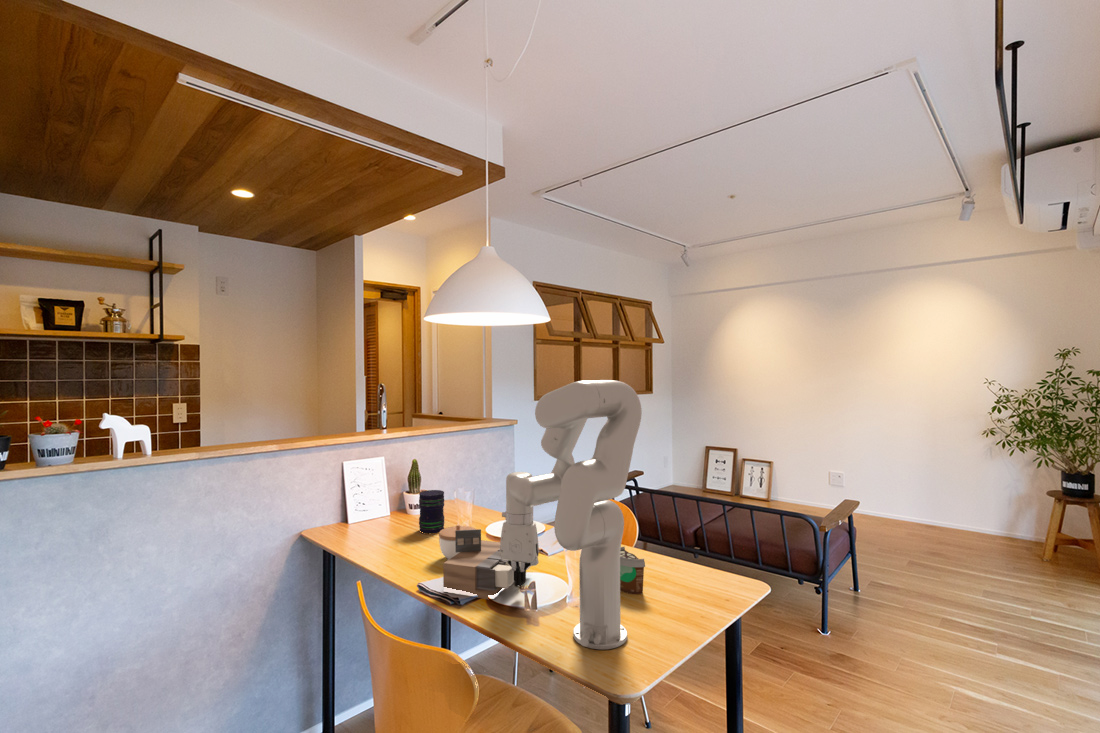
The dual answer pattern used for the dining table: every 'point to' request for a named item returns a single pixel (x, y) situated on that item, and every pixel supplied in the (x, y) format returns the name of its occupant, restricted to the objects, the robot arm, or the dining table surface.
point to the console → (473, 564)
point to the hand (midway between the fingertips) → (519, 584)
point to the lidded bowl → (450, 540)
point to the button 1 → (503, 576)
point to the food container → (631, 573)
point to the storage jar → (431, 511)
